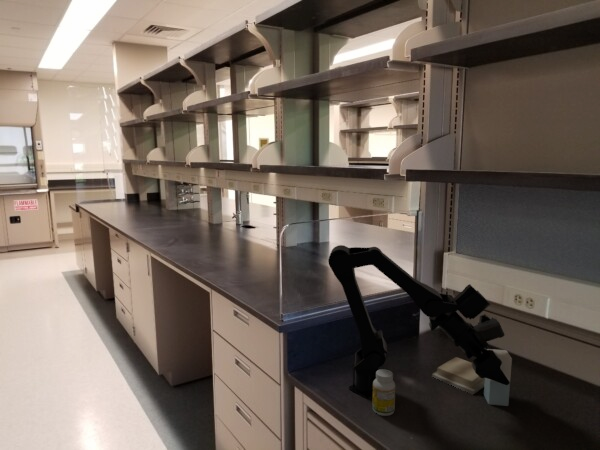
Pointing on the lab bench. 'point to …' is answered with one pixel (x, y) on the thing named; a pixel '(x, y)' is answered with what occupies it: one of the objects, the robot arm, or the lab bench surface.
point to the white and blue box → (496, 390)
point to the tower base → (460, 375)
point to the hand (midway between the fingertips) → (502, 374)
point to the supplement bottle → (383, 393)
